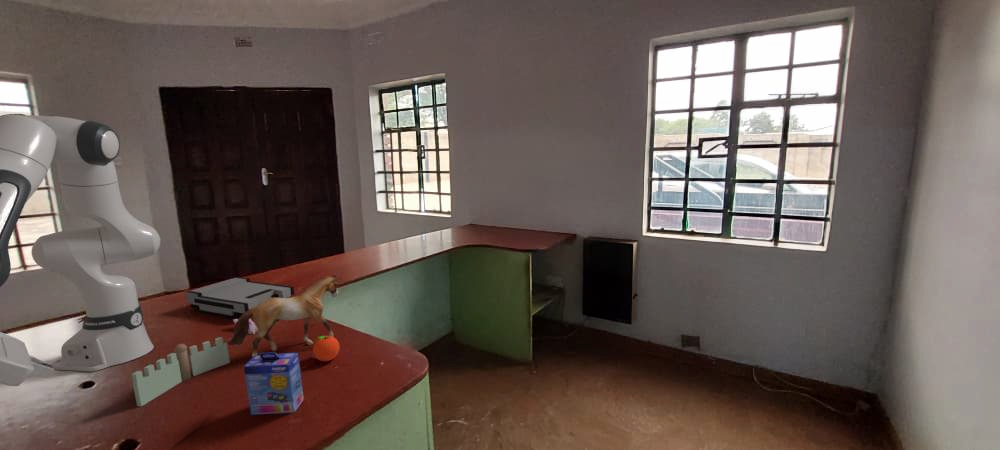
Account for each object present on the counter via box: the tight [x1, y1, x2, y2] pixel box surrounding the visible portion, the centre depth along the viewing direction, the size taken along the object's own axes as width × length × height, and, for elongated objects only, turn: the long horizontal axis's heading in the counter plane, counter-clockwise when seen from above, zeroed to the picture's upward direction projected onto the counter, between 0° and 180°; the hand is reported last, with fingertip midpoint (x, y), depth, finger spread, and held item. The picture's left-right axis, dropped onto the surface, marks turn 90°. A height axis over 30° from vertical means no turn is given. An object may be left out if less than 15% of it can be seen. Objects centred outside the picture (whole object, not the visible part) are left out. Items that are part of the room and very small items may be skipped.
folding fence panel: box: [131, 352, 183, 407], centre depth 96 cm, size 10×1×8 cm, turn 174°
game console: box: [185, 276, 295, 320], centre depth 156 cm, size 21×32×8 cm, turn 68°
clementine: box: [312, 335, 341, 362], centre depth 113 cm, size 8×7×7 cm
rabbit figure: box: [232, 317, 258, 336], centre depth 133 cm, size 6×6×15 cm
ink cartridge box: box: [243, 351, 305, 416], centre depth 90 cm, size 10×6×14 cm, turn 95°
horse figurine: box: [227, 274, 340, 358], centre depth 117 cm, size 31×8×21 cm, turn 123°
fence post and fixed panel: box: [173, 336, 230, 382], centre depth 106 cm, size 11×3×10 cm, turn 144°
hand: (50, 371), depth 80 cm, fingers closed
